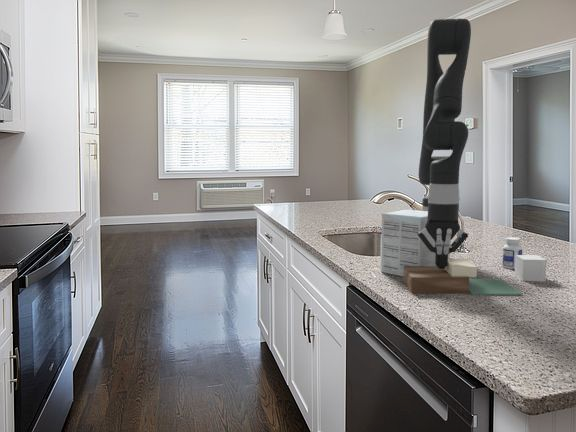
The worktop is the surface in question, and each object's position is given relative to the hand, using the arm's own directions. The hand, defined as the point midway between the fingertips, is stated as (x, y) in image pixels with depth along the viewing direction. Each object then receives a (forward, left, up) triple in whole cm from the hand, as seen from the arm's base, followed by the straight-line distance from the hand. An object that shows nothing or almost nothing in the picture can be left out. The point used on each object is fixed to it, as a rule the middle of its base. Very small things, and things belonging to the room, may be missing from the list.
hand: (441, 267), depth 128 cm
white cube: (-10, +26, -5) cm, 29 cm away
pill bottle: (-23, +26, -5) cm, 35 cm away
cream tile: (0, +5, -1) cm, 5 cm away
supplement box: (-16, -5, -5) cm, 17 cm away
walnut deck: (0, -2, -5) cm, 5 cm away
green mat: (0, +12, -5) cm, 13 cm away
